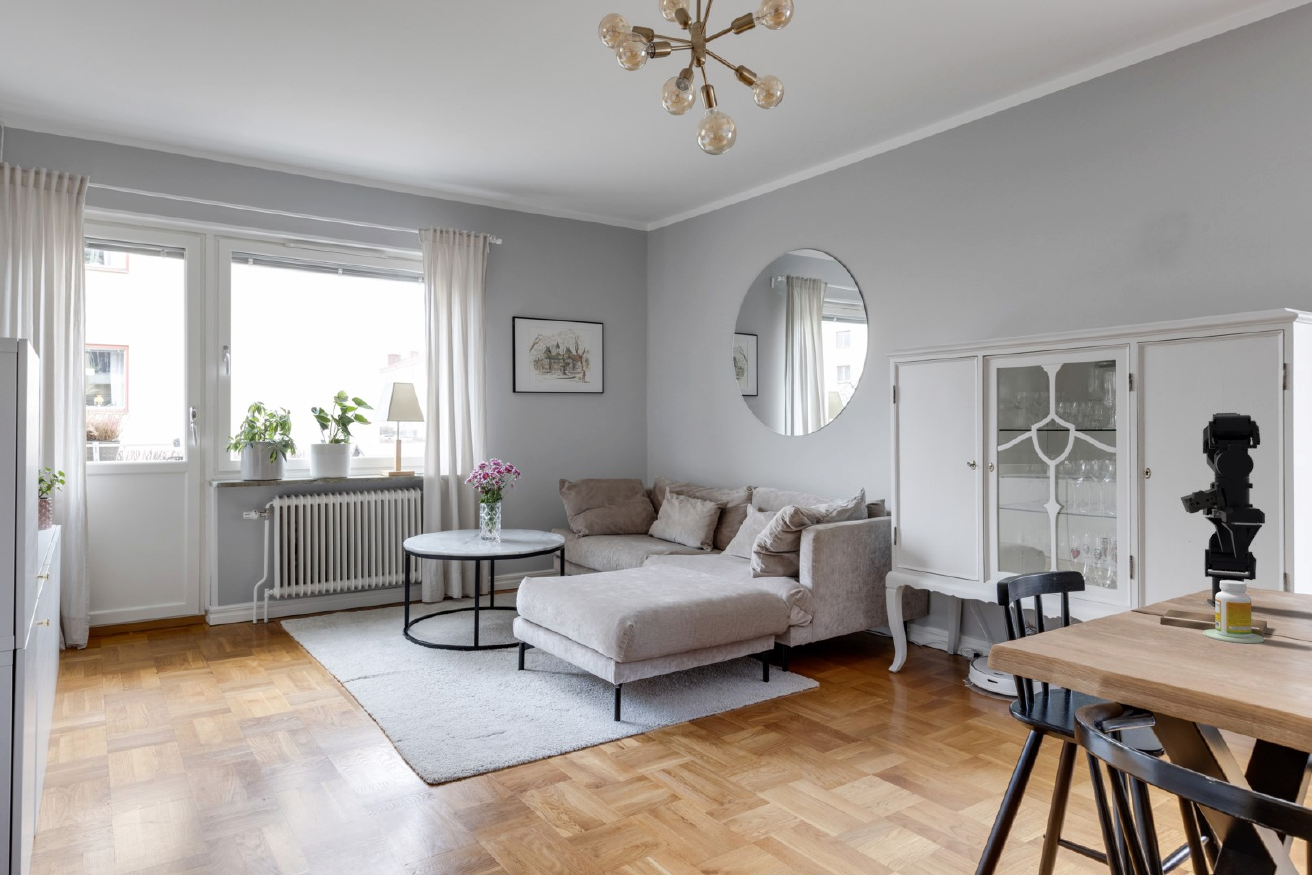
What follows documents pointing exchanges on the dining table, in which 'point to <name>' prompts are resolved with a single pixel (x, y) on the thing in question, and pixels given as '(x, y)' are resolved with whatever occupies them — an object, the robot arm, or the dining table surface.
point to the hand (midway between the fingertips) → (1232, 555)
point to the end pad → (1251, 639)
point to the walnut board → (1203, 621)
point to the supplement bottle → (1233, 610)
